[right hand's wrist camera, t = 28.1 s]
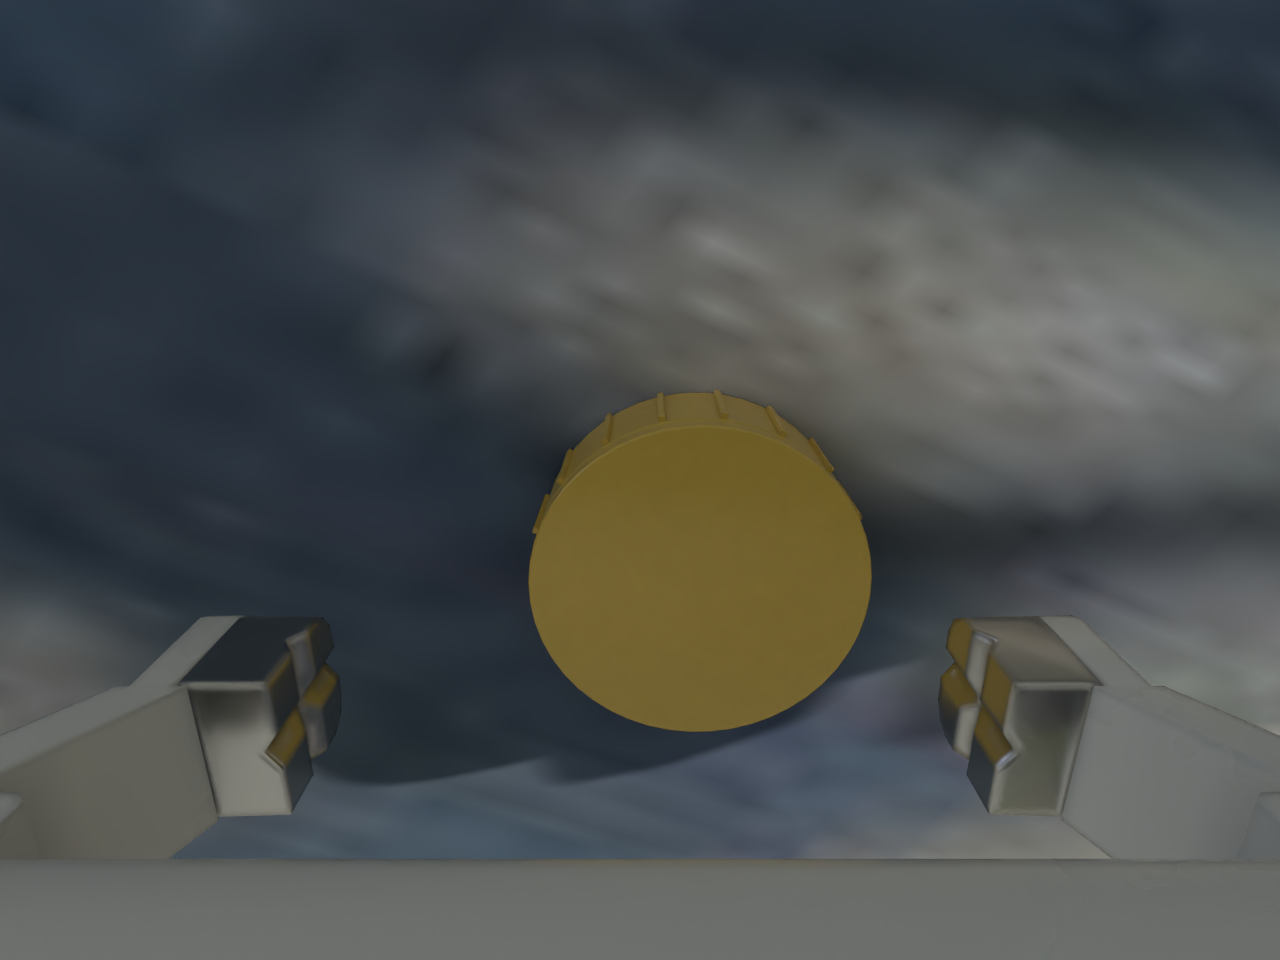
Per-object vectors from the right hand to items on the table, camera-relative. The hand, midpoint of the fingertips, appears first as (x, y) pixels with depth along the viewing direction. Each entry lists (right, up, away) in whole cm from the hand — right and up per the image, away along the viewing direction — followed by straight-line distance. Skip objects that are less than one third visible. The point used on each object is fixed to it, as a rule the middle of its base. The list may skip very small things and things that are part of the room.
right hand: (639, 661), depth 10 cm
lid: (+1, +1, +3) cm, 3 cm away
